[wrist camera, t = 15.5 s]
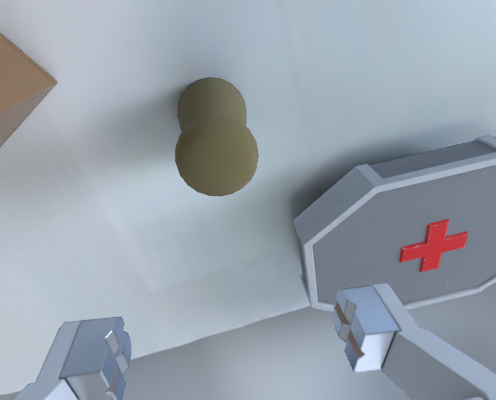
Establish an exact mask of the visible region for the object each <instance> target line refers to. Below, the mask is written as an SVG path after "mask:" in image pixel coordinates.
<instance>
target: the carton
mask: <svg viewBox="0 0 496 400" xmlns="http://www.w3.org/2000/svg"><path fill="white" fill-rule="evenodd" d="M56 84H57V81H55V80H54V79H53V78H52V77H51V76H50V75H48V74H47V73H46V72H45V71H44V70H43V69H41V68H40V67H39V66H38V65H37V64H36V63H34V62H33V61H32V60H31V59H30V58H29V57H27V56H26V55H25V54H24V53H23V52H22V51H20V50H19V49H18V48H17V47H16V46H15V45H13V44H12V43H11V42H10V41H9V40H8V39H6V38H5V37H4V36H3V35H2V34H1V33H0V147H1V146H2V144H3V143H4V142H5V141H6V140H7V139H8V138H9V137H10V135H11V134H12V133H13V132H14V131H15V130H16V129H17V127H18V126H19V125H20V124H21V123H22V122H23V121H24V120H25V118H26V117H27V116H28V115H29V114H30V113H31V112H32V111H33V109H34V108H35V107H36V106H37V105H38V104H39V103H40V102H41V100H42V99H43V98H44V97H45V96H46V95H47V94H48V93H49V91H50V90H51V89H52V88H53V87H54V86H55V85H56Z"/></svg>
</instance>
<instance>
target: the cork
mask: <svg viewBox="0 0 496 400" xmlns="http://www.w3.org/2000/svg"><path fill="white" fill-rule="evenodd" d="M178 118H179V122H180V127H181V131H182V133H181V134H180V136H179V139H178V142H177V145H176V149H175V162H176V165H177V168H178V170H179V173H180V175H181V177H182V178H183V179H184V181H185V182H186V183H187V185H188V186H190V187H191V188H193V189H194V190H196V191H197V192H200V193H203V194H206V195H209V196H224V195H228V194H232V193H234V192H236V191H238V190H240V189H242V188H243V187H244V186H245V185H246V184H247V183H248V182H249V181H250V180H251V179H252V177H253V175H254V173H255V171H256V168H257V162H258V155H259V154H258V149H257V143H256V141H255V139H254V137H253V135H252V134H251V132H250V130H249V129H248V128H247V127H246V108H245V103H244V100H243V98H242V96H241V94H240V92H239V91H238V90H237V89H236V88H235V87H234V86H233V85H232V84H231V83H228V82H226V81H224V80H222V79H218V78H205V79H200V80H197V81H196V82H194V83H192V84H191V85H189V86H188V87H187V89H186V90H185V91H184V92H183V94H182V95H181V98H180V101H179V104H178Z"/></svg>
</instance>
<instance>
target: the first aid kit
mask: <svg viewBox="0 0 496 400" xmlns="http://www.w3.org/2000/svg"><path fill="white" fill-rule="evenodd" d="M293 222H294V227H295V229H296V231H297V236H298V244H299V251H300V259H301V267H302V274H303V275H301V280H302V283H303V286H304V288H305V291H306V294H307V297H308V299H309V302H310V305H311V307H312V308H317V309H322V310H327V311H332V312H333V309H334V306H335V305H336V304H337V303H338V301H337V299H336V293H337V291H338V290H339V289H342V288H349V287H357V286H364V285H375V284H382V283H387V284H388V285H389V286H390V287H391V288H392V290H393V291H394V293H395V294H396V296H397V297H398V299H399V300H400V301H401V303H402V304H403V306H404V307H405V309H406V310H408V309H412V308H416V307H420V306H425V305H429V304H433V303H437V302H441V301H446V300H449V299H454V298H458V297H462V296H467V295H470V294H475V293H478V292H480V291H481V290H483V289H485V288H486V287H488V286H490V285H491V284H493V283H495V282H496V137H493V136H491V135H486V136H482V137H478V138H477V139H475V140H474V141H471V142H467V143H463V144H459V145H454V146H450V147H446V148H442V149H437V150H433V151H429V152H425V153H420V154H416V155H412V156H408V157H403V158H399V159H395V160H391V161H386V162H382V163H378V164H374V165H368V164H363V165H359V166H355V167H354V168H353V169H352V170H351V171H349V172H348V173H347V174H346V175H345V176H344V177H342V178H341V179H340V180H339V181H338V182H337V183H336V184H334V185H333V186H332V187H331V188H330V189H329V190H327V191H326V192H325V193H324V194H323V195H322V196H320V197H319V198H318V199H317V200H316V201H315V202H314V203H312V204H311V205H310V206H309V207H308V208H307V209H305V210H304V211H303V212H302V213H301V214H300V215H298V216H297V217H296V218H295V219H294V220H293Z"/></svg>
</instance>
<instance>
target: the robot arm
mask: <svg viewBox="0 0 496 400" xmlns="http://www.w3.org/2000/svg"><path fill="white" fill-rule="evenodd" d="M336 299H337V301H338V303H337V304H336V305H335V306H334V309H333V321H334V325H335V329H336V331H337V334H338V336H339V338H340V339H342V340H343V341H344V342H346V347H345V353H346V356H347V358H348V360H349V362H350V365H351V367H352V370H353V372H362V371H371V370H379V369H382V372H383V373H384V374H386V376H387V377H389V378H390V379H391V380H392V381H393V382H394V383H395V384H396V385H397V386H398V387H399V388H400V389H402V391H404V392H405V393H406V394H407V395H408V396H409V397H410V398H411V399H412V400H496V374H495V373H493V372H492V371H490V370H488V369H487V368H485V367H484V366H482V365H481V364H479V363H478V362H476V361H474V360H473V359H471V358H470V357H468V356H467V355H465V354H464V353H462V352H460V351H459V350H457V349H456V348H454V347H453V346H451V345H450V344H448V343H446V342H445V341H443V340H442V339H440V338H439V337H437V336H436V335H434V334H432V333H431V332H429V331H428V330H426V329H425V328H422V329H419V328H418V326H417V325H416V323H415V322H414V320H413V319H412V318H411V316H410V314H409V313H408V312H407V310H406V309H405V307H404V306H403V304H402V303H401V301H400V300H399V299H398V297H397V296H396V294H395V293H394V291H393V290H392V288H391V287H390V286H389V285H388V284H387V283H382V284H375V285H364V286H357V287H349V288H342V289H339V290H338V291H337V293H336ZM123 328H124V321H123V319H122V317H112V318H101V319H91V320H81V321H72V322H64V324H63V325H62V326H61V327H60V328H59V330H58V332H57V335H56V337H55V339H54V341H53V344H52V346H51V348H50V350H49V353H48V355H47V357H46V359H45V362H44V364H43V366H42V368H41V371H40V373H39V375H38V377H37V380H36V382H35V383H30V384H28V385H27V386H26V387H25V388H24V389H23V390H22V391H21V392H20V393H19V394H18V395H17V396H16V397H15V398H14V399H12V400H122V398H123V394H124V389H125V383H126V382H125V380H124V377H123V375H122V374H123V373H124V372H125V371H126V369H127V368H128V367H129V363H130V358H131V341H130V337H129V334H128V333H127V332H125V331H124V330H123Z"/></svg>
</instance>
